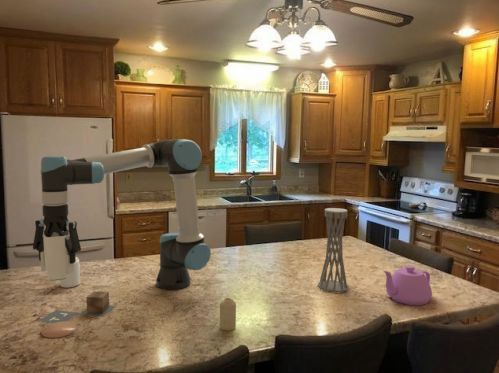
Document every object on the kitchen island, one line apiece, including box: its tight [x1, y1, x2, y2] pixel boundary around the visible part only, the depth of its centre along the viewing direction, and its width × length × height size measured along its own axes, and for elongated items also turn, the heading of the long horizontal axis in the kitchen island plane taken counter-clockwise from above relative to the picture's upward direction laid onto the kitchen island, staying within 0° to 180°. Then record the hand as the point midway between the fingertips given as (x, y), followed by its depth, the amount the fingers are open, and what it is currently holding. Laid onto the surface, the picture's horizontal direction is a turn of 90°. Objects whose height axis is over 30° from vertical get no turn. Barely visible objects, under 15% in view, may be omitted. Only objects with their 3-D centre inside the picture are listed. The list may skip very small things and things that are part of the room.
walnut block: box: [86, 290, 110, 313], centre depth 155 cm, size 6×6×6 cm
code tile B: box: [78, 304, 117, 318], centre depth 155 cm, size 10×10×1 cm
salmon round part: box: [40, 320, 78, 339], centre depth 138 cm, size 11×11×1 cm
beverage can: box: [59, 256, 81, 289], centre depth 181 cm, size 8×8×12 cm
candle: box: [219, 297, 237, 331], centre depth 142 cm, size 6×6×10 cm
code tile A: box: [37, 309, 80, 324], centre depth 148 cm, size 10×10×1 cm
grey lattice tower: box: [317, 207, 349, 293], centre depth 182 cm, size 14×13×35 cm
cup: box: [43, 232, 70, 282], centre depth 136 cm, size 7×7×15 cm
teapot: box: [383, 265, 433, 306], centre depth 171 cm, size 25×18×14 cm
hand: (57, 271), depth 136 cm, fingers closed on cup, 9 cm apart
